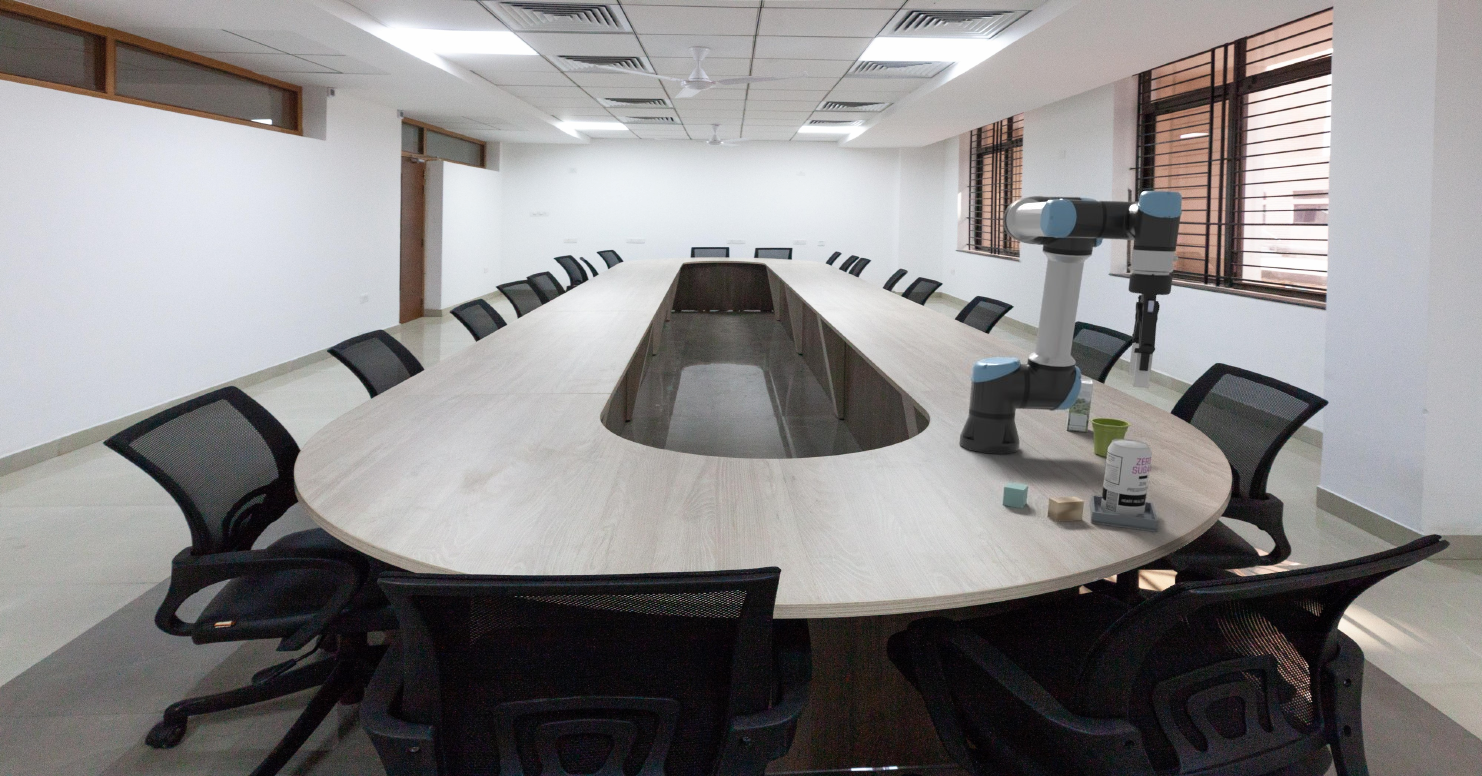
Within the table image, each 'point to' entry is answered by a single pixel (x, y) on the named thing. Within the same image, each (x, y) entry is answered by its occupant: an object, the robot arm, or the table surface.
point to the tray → (1123, 517)
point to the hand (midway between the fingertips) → (1138, 381)
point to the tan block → (1065, 508)
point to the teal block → (1015, 495)
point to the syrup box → (1081, 408)
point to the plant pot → (1107, 433)
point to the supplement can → (1126, 478)
